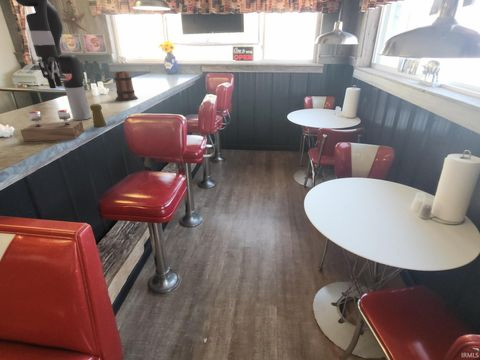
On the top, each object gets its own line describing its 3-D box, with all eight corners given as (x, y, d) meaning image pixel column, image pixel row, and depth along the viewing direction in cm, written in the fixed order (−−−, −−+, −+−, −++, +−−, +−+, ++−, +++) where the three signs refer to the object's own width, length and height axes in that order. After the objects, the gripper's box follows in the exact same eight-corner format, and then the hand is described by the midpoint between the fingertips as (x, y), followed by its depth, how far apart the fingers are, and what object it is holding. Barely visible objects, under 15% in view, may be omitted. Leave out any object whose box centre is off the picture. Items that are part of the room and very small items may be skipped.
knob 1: (35, 125, 129) (30, 111, 126) (46, 125, 129) (41, 110, 126) (30, 128, 125) (25, 113, 122) (41, 127, 125) (36, 112, 122)
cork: (101, 127, 143) (96, 105, 138) (91, 126, 144) (85, 105, 139) (108, 124, 148) (104, 103, 144) (98, 124, 149) (93, 102, 145)
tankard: (135, 100, 212) (130, 72, 203) (112, 101, 210) (106, 73, 202) (142, 95, 233) (137, 69, 224) (121, 96, 232) (116, 70, 223)
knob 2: (63, 124, 130) (59, 109, 127) (73, 123, 131) (70, 109, 128) (59, 126, 126) (55, 111, 124) (70, 126, 127) (66, 111, 124)
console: (37, 133, 134) (34, 123, 132) (84, 131, 137) (81, 121, 135) (24, 141, 123) (20, 130, 121) (75, 138, 126) (72, 127, 124)
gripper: (42, 44, 120) (54, 85, 127) (24, 44, 107) (39, 89, 115) (61, 43, 121) (71, 84, 128) (46, 43, 108) (58, 89, 116)
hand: (56, 87), depth 121 cm, fingers open, 5 cm apart
